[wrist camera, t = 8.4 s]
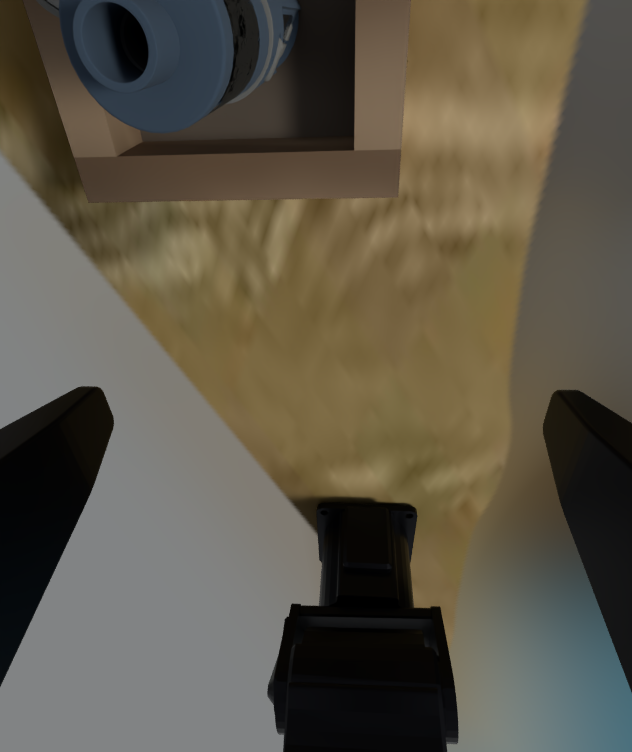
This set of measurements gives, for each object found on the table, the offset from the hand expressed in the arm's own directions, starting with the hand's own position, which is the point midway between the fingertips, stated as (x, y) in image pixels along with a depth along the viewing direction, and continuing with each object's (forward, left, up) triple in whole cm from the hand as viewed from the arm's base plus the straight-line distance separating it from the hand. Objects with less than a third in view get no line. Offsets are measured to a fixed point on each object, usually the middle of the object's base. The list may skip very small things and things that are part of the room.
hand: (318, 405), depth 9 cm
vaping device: (+7, +4, -12) cm, 14 cm away
